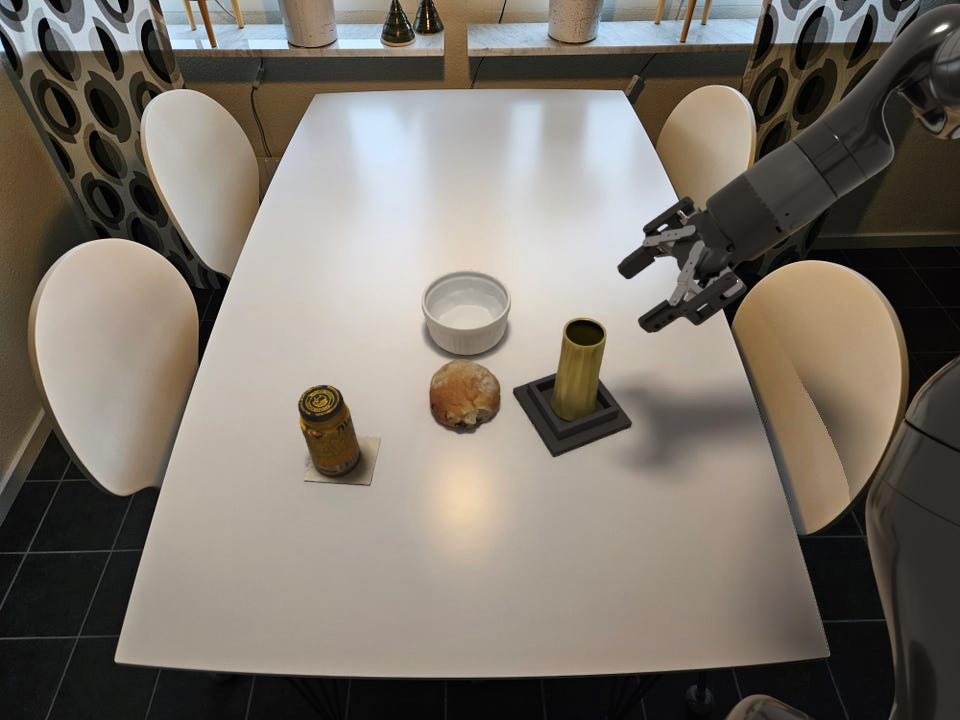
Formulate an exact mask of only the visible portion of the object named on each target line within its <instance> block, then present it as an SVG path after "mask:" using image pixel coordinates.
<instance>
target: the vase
mask: <svg viewBox="0 0 960 720" xmlns="http://www.w3.org/2000/svg"><path fill="white" fill-rule="evenodd" d="M607 334H608V333H607V330H606V328H605V326H604V325H603V324H602V323H601V322H599V321H598V320H596V319H593V318H590V317H575V318H572V319H570V320H569V321H567V322H566V323H565V324H564V327H563V330H562V338H561V346H560V354H559V360H558V366H557V370H556V373H557V375H556V380H555V385H554V390H553V396H552V398H551V407H552V410H553V411H554V413H555V414H556V415H557V416H559V417H560V418H562V419H564V420H567V421H571V422H573V421H576V420H578V419H581V418H584V417H586V416H589V415H591V414H593V413H594V411H595V407H596V405H595V404H596V396H597V389H598V380H599V379H600V372H601V366H602V362H603V356H604V352H605V348H606V342H607Z"/></svg>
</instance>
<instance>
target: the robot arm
mask: <svg viewBox="0 0 960 720" xmlns="http://www.w3.org/2000/svg"><path fill="white" fill-rule="evenodd" d="M893 91H895V92H897V94H898V96H899V97H900V99H901V100H902V101H903V103H904V104H905V105H906V106H907V108H908V110H910V112H911V113H912V114H913V116H914V117H915V119H916V120H917V122H918V123H919V124H920V126H921V127H922V128H923V129H924V130H925V131H926V132H927V133H928V134H930V135H931V136H933V137H934V138H937V139H939V140H947V141H948V140H949V141H950V140H955V139H958V138H960V3H950V4H944V5H939V6H937V7H934V8H933V9H930V10H928V11H925V12H924V13H922V14H921V15H919V16H917V17H916V18H915V19H914V20H912V22H910V24H908V25H907V26H906V27H905V28H904V29H903V31H902V32H901V33H899V35H898V36H897V37H896V38H895V40H894V41H893V42H892V43H891V44H890V45H889V47H888V48H887V49H886V50H885V51H884V52H883V54H882V55H881V57H880V58H879V59H878V60H877V61H876V63H875V64H874V65H873V67H872V68H871V69H870V70H869V71H868V72H867V73H866V74H865V76H864V77H863V78H862V79H861V80H860V81H859V82H858V83H857V84H856V85H855V86H854V88H853V89H851V91H849V93H848V94H847V95H846V96H845V97H843V98H842V99H841V101H839V102H838V103H836V105H835V106H833V107H832V108H831V109H830V110H828V111H827V112H826V113H825V114H824V115H822V116H820V117H819V118H818V119H817V120H816V121H814V122H813V123H812V124H810V125H809V126H808V127H807V128H805V129H803V130H802V131H801V132H800V133H798V134H797V135H796V136H794V137H793V138H792V140H791V139H790V140H789V141H787V142H786V143H784V144H782V145H781V146H779V147H777V148H775V149H773V150H772V151H770V152H769V153H768V154H766V155H764V156H763V157H762V158H760V159H759V160H758V161H756V162H755V163H754V164H752V165H751V166H750V167H748V168H747V169H745V170H744V171H743V172H742V173H740V174H739V175H738V176H736V177H735V178H734V179H732V180H731V181H730V182H728V183H727V184H726V185H724V186H723V187H722V188H720V189H719V190H718V191H716V192H715V193H714V194H712V195H711V196H710V197H708V199H707V200H706V202H705V208H706V209H704V210H702V209H701V207H700V206H699V205H698V204H697V203H696V202H695V201H694V200H693V199H692V198H691V197H690V196H689V195H688V196H684V197H682V198H681V199H680V200H679V201H677V202H676V203H674V204H673V205H671V206H669V208H667V209H665V210H664V211H663V212H662V213H660V214H659V215H658V216H655V217H654V218H653V219H652V220H651V221H649V222H648V223H646V224H645V225H644V226H643V228H642V232H643V233H644V239H643V241H642V244H641V245H640V246H639V247H638V248H637V249H635V250H634V251H632V252H631V253H630V254H629V255H627V256H626V257H625V258H623V259H622V261H621V262H620V263H618V265H617V266H616V269H617V271H618V273H619V274H620V275H621V276H622V277H623V278H624V279H626V280H632V279H633V278H634V277H636V276H638V275H639V274H640V273H641V272H643V271H644V270H645V269H647V268H648V267H650V265H652V264H653V263H655V262H656V259H657V258H658V259H659V258H668V257H672V258H675V260H676V264H677V267H678V269H679V271H680V272H679V274H678V276H677V279H676V282H677V285H676V287H675V288H674V290H673V293H672V294H671V296H670V298H669V300H668V299H667V298H666V299H664V300H663V301H661V302H660V303H658V304H657V305H655V306H654V307H653V308H651V309H650V310H648V311H647V312H645V313H644V314H643V315H641V316H640V317H638V319H637V323H638V325H639V327H640V328H641V329H642V330H643V331H644V332H646V333H647V334H651V333H658V332H660V331H661V330H663V329H664V328H666V327H667V326H669V325H670V324H672V323H673V322H675V321H677V320H678V319H680V318H685V319H686V320H688V321H689V322H690V323H691V324H693V325H694V326H696V327H697V326H700V325H702V324H703V323H705V322H706V321H707V320H709V319H710V318H711V317H713V316H715V315H716V314H717V313H719V312H720V311H721V310H722V309H725V308H726V307H727V306H729V304H731V303H733V302H734V301H736V299H738V298H739V297H741V296H743V295H744V294H745V293H746V291H747V288H748V287H747V285H746V284H745V283H744V281H742V279H741V278H740V277H739V276H738V275H736V273H735V272H734V271H735V269H736V267H737V266H739V264H740V263H742V262H744V261H745V262H746V261H750V262H751V261H754V260H756V259H757V258H759V257H760V256H762V255H763V254H765V253H766V252H768V251H770V250H771V249H772V248H774V247H776V245H778V244H779V243H781V242H783V241H784V240H786V239H788V237H790V236H791V235H793V234H794V233H796V232H797V231H799V230H800V229H802V228H803V227H805V226H806V225H807V224H809V223H811V222H812V221H813V220H815V219H816V218H818V217H819V216H821V214H823V213H824V211H826V210H827V209H828V208H829V207H831V206H832V205H833V204H834V203H835V202H837V201H838V200H840V199H842V197H844V196H846V195H847V194H849V193H850V192H852V191H853V190H855V189H856V188H858V187H859V186H861V185H862V184H864V183H865V182H866V181H868V180H870V179H871V178H872V177H874V176H875V175H877V174H878V173H880V172H881V171H882V170H884V169H885V168H887V167H888V166H889V164H891V162H892V161H893V159H894V157H895V147H894V143H893V140H892V137H891V135H890V133H889V129H888V128H887V125H886V122H885V116H884V108H885V105H886V103H887V101H888V98H889V97H890V95H891V93H892V92H893ZM665 225H667V226H665ZM663 226H665V227H664V228H662V229H661V230H659V229H660V228H661V227H663ZM655 258H656V259H655ZM696 281H698V282H696ZM904 417H905V418H903V419H902V420H901V422H900V425H899V427H898V429H897V431H896V433H895V435H894V437H893V439H892V440H891V443H890V445H889V447H888V449H887V451H886V453H885V456H884V458H883V460H882V462H881V464H880V466H879V468H878V470H877V472H876V474H875V476H874V479H873V480H872V482H871V485H870V487H869V489H868V493H867V497H866V500H865V511H864V517H865V531H866V539H867V544H868V550H869V554H870V555H869V556H870V560H871V565H872V569H873V575H874V578H875V582H876V583H875V584H876V586H877V591H878V594H879V598H880V602H881V607H882V610H883V614H884V618H885V623H886V625H887V630H888V635H889V641H890V645H891V653H892V663H893V671H894V674H893V675H894V682H895V683H894V684H895V686H894V688H895V689H894V690H895V691H894V696H893V697H894V698H893V704H892V707H891V711H890V715H889V717H888V720H960V354H959V355H957V356H955V358H953V359H952V360H950V361H949V362H948V363H946V364H945V365H944V366H942V367H941V368H940V369H938V370H937V371H936V372H935V373H934V374H933V375H932V376H930V378H928V379H927V381H926V382H925V383H923V385H922V386H921V387H920V389H919V390H918V391H917V392H916V394H915V396H914V397H913V399H912V401H911V403H910V404H909V407H908V409H907V411H906V412H905V414H904ZM723 720H818V719H817V718H815V717H812V716H810V715H809V714H808V713H805V712H803V711H801V710H799V709H796V708H795V707H792V706H791V705H789V704H787V703H784V702H782V701H781V700H779V699H777V698H774V697H773V696H770V695H766V694H752V695H749V696H746V697H744V698H743V699H742V700H740V701H739V702H737V703H736V704H735V706H733V708H732V709H731V710H730V711H729V712H728V714H727V715H726V716H725V718H723Z"/></svg>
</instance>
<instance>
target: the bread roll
mask: <svg viewBox="0 0 960 720" xmlns="http://www.w3.org/2000/svg"><path fill="white" fill-rule="evenodd" d="M428 392H429V393H428V396H429V404H430V410H431V413H432V414H433V415H434V417H435V418H436V419H437V420H438V422H440V423H441V424H444V425H445V426H447V427H452V428H457V429H458V430H460V431H461V430H462V431H464V430H465V429H467V430H468V429H472V428H474V427H477V426H479V425H480V424H482V423H484V422H486V421H488V420H489V419H490V418H491V417H492V416H493V415H494V414H495V413H496V412H497V411H498V409H499V407H500V404H501V398H502V397H501V385H500V381H499V380H498V378H497V377H496V375H494V374H493V373H492V372H491V370H490V369H489V368H487V367H485V366H484V365H481V364H480V363H477V362H474V361H472V360H468V359H454V360H452V361H449V362H448V363H446V364H444V365H442V366H441V367H440V368H439V369H438V370H437V371H436V372H435V373H433V376H432V377H431V380H430V386H429V391H428Z"/></svg>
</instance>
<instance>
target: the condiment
mask: <svg viewBox="0 0 960 720" xmlns="http://www.w3.org/2000/svg"><path fill="white" fill-rule="evenodd" d="M297 402H298V403H297V409H298V412H299V425H300V428H301V432H302V435H303V437H304V439H305V443H306V446H307V450H308V452H309V455H310V460H309V464H308V467H307V469H306V473H305V476H304V481H308V482H309V481H310V482H317V483H318V482H322V483H333V484H334V483H337V484H340V483H342V484H344V483H345V484H353V485H371V481H372V478H373V474H374V469H375V466H376V462H377V457H378V452H379V449H380V444H381V438H382V437H377V436H361V435H357V434H356V431H355V427H354V422H353V418H352V414H351V411H350V408H349V406H348V404H347V403H346V402H345V399H344V396H343V394H342V393H341V391H340V390H339V389H338V388H337V387H335V386H332V385H329V384H318V385H315V386H312V387H310V388H308V389H307V390H305V391H304V392H303V393H302V394H301V396H300V398H299V400H298V401H297Z"/></svg>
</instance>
